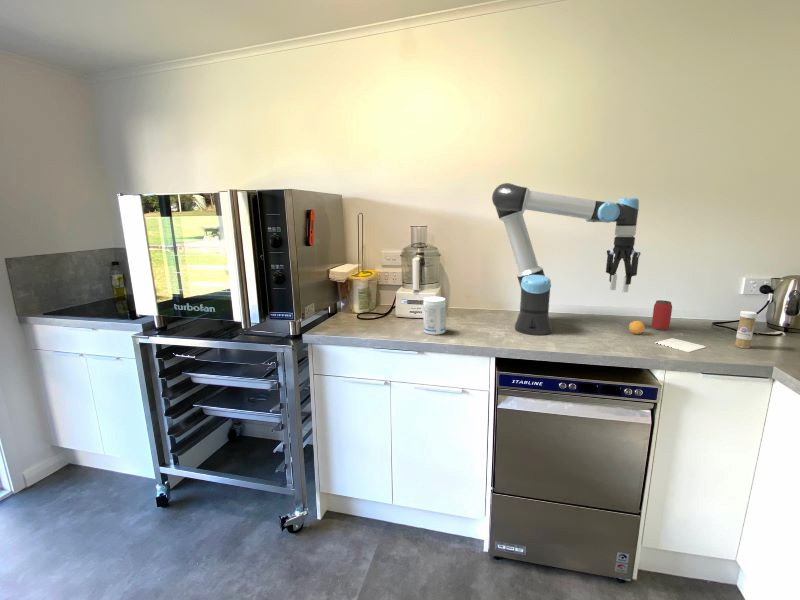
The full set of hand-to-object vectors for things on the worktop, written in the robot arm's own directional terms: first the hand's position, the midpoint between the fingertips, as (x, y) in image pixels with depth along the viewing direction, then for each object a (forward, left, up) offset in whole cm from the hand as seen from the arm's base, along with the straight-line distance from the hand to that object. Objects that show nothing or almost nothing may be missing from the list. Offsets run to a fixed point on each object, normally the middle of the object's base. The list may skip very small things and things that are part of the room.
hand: (618, 290), depth 166 cm
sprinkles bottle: (+38, +18, -17) cm, 46 cm away
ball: (+10, 0, -14) cm, 17 cm away
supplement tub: (-32, -73, -17) cm, 82 cm away
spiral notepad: (+26, 0, -17) cm, 31 cm away
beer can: (+10, +17, -17) cm, 26 cm away
